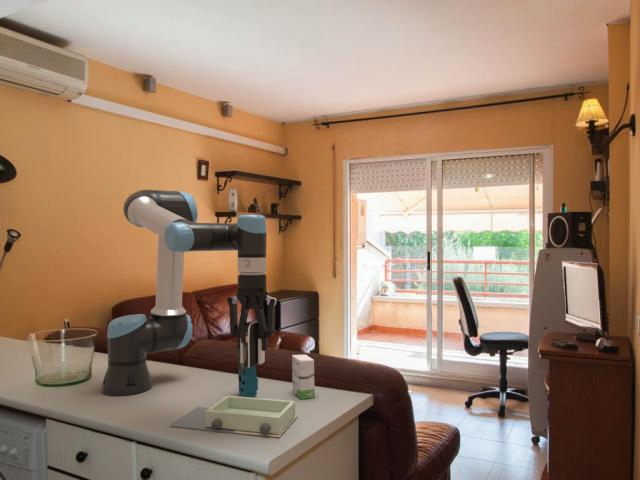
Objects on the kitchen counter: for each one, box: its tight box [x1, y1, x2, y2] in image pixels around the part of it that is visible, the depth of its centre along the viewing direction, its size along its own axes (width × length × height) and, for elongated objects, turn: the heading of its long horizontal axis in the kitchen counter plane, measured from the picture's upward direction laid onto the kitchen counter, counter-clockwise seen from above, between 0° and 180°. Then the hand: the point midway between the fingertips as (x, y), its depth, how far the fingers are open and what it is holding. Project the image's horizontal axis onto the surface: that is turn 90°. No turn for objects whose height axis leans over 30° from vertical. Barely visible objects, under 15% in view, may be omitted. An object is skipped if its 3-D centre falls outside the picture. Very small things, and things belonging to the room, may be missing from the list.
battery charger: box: [241, 320, 261, 367], centre depth 134 cm, size 7×4×11 cm, turn 156°
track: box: [169, 406, 298, 439], centre depth 135 cm, size 30×15×1 cm, turn 75°
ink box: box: [291, 354, 316, 400], centre depth 158 cm, size 9×5×12 cm, turn 20°
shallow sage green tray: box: [205, 395, 296, 435], centre depth 134 cm, size 20×15×4 cm
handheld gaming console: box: [237, 349, 259, 398], centre depth 156 cm, size 10×4×15 cm, turn 23°
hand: (252, 362), depth 134 cm, fingers closed on battery charger, 4 cm apart
